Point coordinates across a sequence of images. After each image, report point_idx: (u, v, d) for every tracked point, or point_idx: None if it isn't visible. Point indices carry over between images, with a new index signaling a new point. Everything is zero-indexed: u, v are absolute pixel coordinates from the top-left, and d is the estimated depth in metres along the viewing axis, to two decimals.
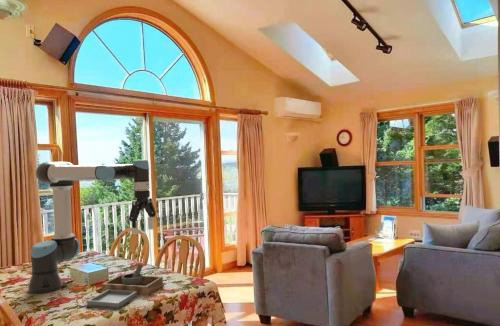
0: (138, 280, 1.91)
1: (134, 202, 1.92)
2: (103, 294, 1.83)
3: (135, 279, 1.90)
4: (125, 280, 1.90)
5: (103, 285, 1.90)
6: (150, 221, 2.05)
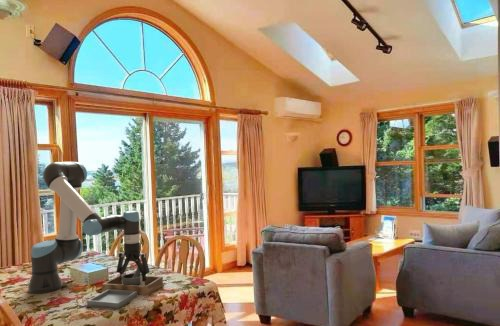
0: (138, 280, 1.91)
1: None
2: (103, 294, 1.83)
3: (135, 279, 1.90)
4: (125, 280, 1.90)
5: (103, 285, 1.90)
6: None
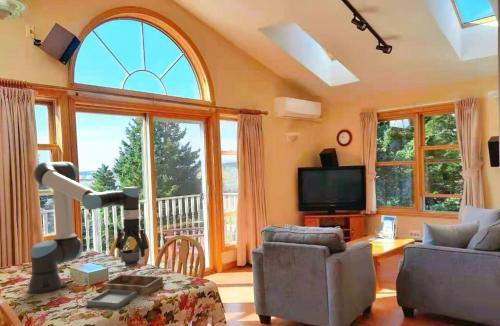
0: (137, 256, 1.91)
1: None
2: (103, 294, 1.83)
3: (134, 254, 1.90)
4: (124, 255, 1.90)
5: (103, 285, 1.90)
6: None
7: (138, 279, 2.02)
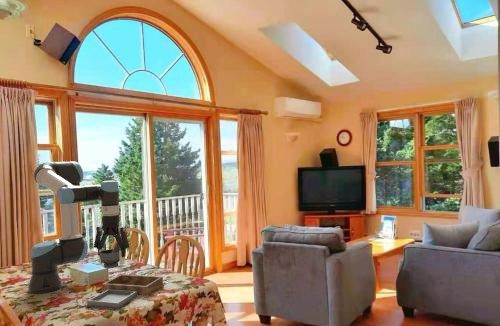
0: (117, 256, 1.75)
1: None
2: (103, 294, 1.83)
3: (114, 254, 1.74)
4: (103, 255, 1.73)
5: (103, 285, 1.90)
6: None
7: (138, 279, 2.02)
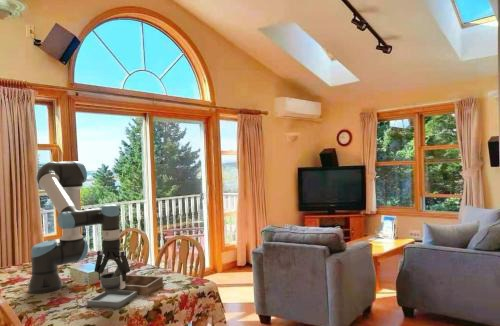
0: (118, 280, 1.75)
1: None
2: (103, 294, 1.83)
3: (115, 279, 1.74)
4: (104, 280, 1.73)
5: None
6: None
7: (138, 279, 2.02)
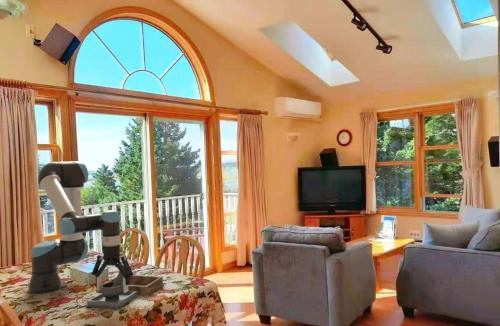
0: (118, 289, 1.75)
1: None
2: None
3: (115, 288, 1.74)
4: (104, 289, 1.73)
5: None
6: None
7: (138, 279, 2.02)
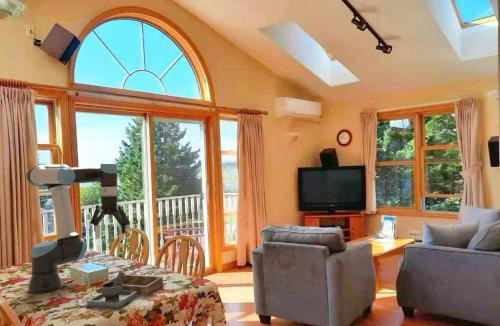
0: (118, 289, 1.75)
1: None
2: None
3: (115, 288, 1.74)
4: (104, 289, 1.73)
5: None
6: None
7: (138, 279, 2.02)
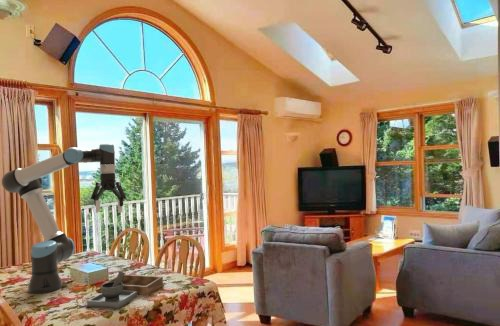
0: (118, 289, 1.75)
1: None
2: None
3: (115, 288, 1.74)
4: (104, 289, 1.73)
5: None
6: None
7: (138, 279, 2.02)
